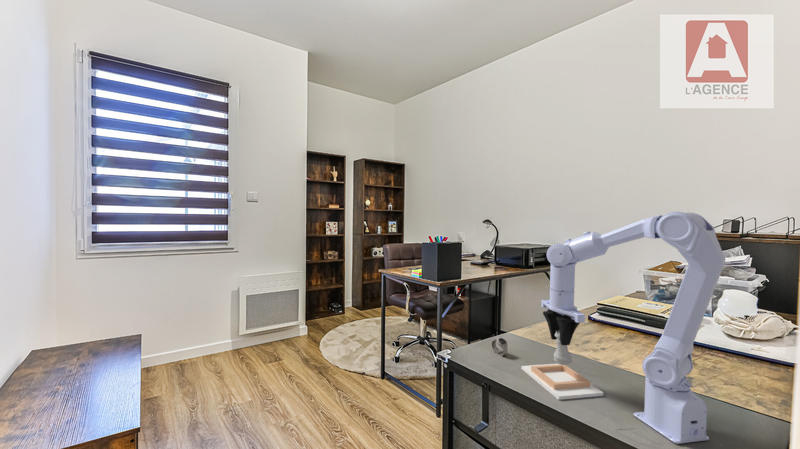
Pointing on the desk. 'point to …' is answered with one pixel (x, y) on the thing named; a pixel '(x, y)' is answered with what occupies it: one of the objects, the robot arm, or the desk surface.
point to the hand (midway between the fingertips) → (560, 341)
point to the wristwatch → (502, 344)
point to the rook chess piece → (561, 352)
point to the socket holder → (562, 381)
